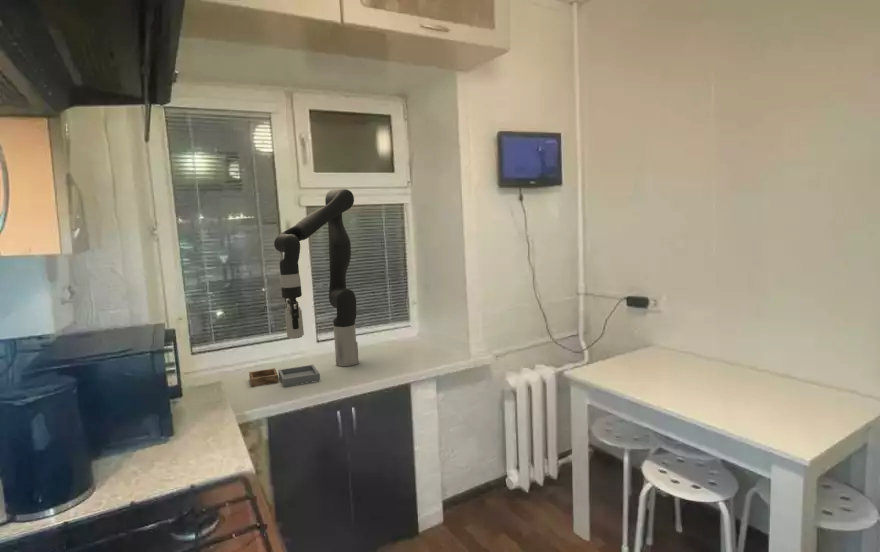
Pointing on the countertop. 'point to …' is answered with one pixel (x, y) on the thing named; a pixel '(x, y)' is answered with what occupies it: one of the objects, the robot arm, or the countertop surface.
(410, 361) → the countertop surface
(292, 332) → the beverage can
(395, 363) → the countertop surface
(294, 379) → the tray
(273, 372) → the collar
